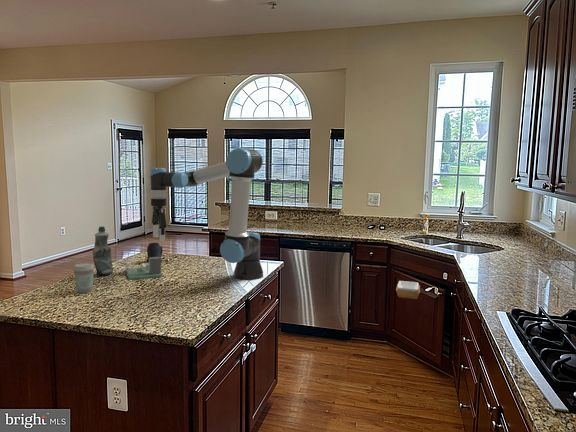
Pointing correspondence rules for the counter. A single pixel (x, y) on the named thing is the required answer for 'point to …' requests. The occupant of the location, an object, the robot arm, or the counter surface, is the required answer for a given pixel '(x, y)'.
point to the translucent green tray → (139, 273)
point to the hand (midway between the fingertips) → (159, 239)
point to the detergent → (102, 253)
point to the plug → (154, 265)
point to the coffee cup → (84, 277)
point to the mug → (154, 251)
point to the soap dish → (408, 289)
